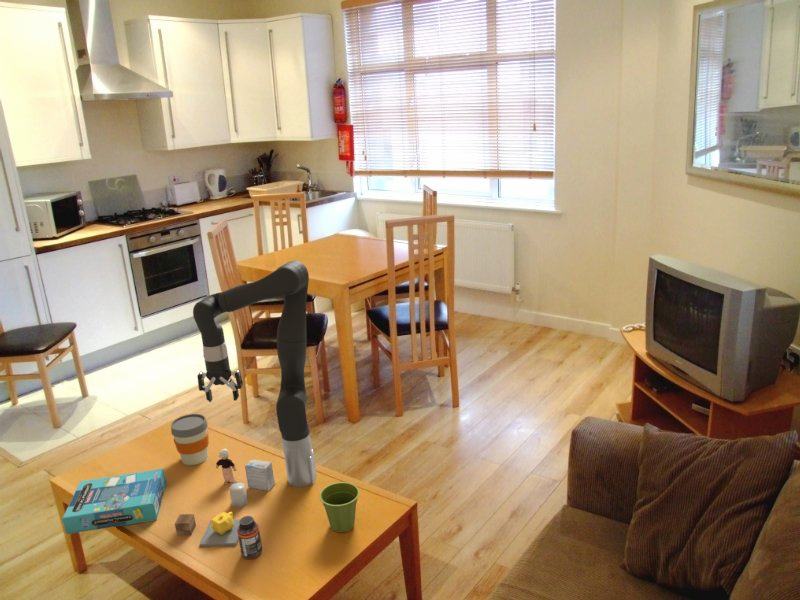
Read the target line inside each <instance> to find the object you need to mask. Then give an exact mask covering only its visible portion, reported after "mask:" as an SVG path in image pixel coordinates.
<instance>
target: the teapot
mask: <svg viewBox="0 0 800 600" xmlns="http://www.w3.org/2000/svg"><path fill="white" fill-rule="evenodd" d="M234 518H235V517H234V513H233V511H229V512H225V511H222V512H221V513H218V515H215V516H214V517H213V518H212V519H211V520H212V525H211V526H210V527H211V528H212V529H213V530H214V531H215V532H217V533H219V534H221V535H224V534H225V532H227V531H228V530H231V529H232V527H234V522H233V520H234Z"/></svg>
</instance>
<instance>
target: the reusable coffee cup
mask: <svg viewBox="0 0 800 600" xmlns="http://www.w3.org/2000/svg"><path fill="white" fill-rule="evenodd" d="M208 427H209V424H208V422H207V419H206V416H205V415H204V414H201V413H190V414H189V413H188V414H185V415H182V416H179V417H177V418H175V419H173V421H172V422H171V424H170V428H171V429H170V430H171V431H170V432H171V435H172V436H173V442H174V445H175V448H176V451H177V452H178V453H179V455H180V457H181V458H180V459H181V461H182V463H183V464H184V465H185V466H197V465H200V464H202V463H204V462H205V461H207V459H208V458H209V449H208V448H209V443H210V441H209V431H208Z"/></svg>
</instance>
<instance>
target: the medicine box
mask: <svg viewBox="0 0 800 600" xmlns="http://www.w3.org/2000/svg"><path fill="white" fill-rule="evenodd" d="M273 469H274V468H273V462H271V461H266V460H259V459H250V460H249V461H248V462H247V463H246V465H244V470H245V476H246V481H247V487H248V488H249V489H252V490H253V489H254V490H261V491H268V492H269V491H270V490H271V489H272V488H273V486H274V485H275V483H276V482H275V475H274V470H273Z"/></svg>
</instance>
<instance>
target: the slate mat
mask: <svg viewBox="0 0 800 600" xmlns="http://www.w3.org/2000/svg"><path fill="white" fill-rule="evenodd" d="M240 519H241V518H240ZM240 519H238V518H237V519H233V522H234V527H232V529H231V530H228V531H227V532H225V534H224V535H221V534H219V533H217V532H215V531H214V530H213V529H212V528H211V527H210V526H211V525H212V519H211V520H209V523H208V525H207V527H206V530H205V531H204V533H203V536H202V538H201V540H200V541H199V544H198V545H199V546H198V547H224V546H225V547H227V546H237V545H238V543H239V538H238V532H237V530H238V527H239V525H240V523H239V521H240Z"/></svg>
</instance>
